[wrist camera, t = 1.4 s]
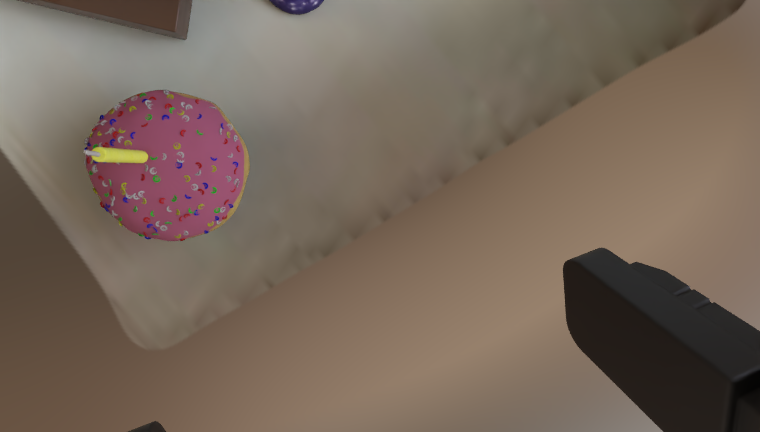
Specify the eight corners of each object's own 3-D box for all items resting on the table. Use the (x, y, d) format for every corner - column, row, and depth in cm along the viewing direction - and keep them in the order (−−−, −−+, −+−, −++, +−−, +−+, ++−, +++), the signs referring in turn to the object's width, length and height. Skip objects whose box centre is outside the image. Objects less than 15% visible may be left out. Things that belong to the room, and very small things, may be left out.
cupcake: (88, 173, 33) (-25, 203, 21) (166, 64, 32) (94, 33, 21) (206, 249, 35) (161, 315, 23) (281, 147, 34) (273, 162, 23)
